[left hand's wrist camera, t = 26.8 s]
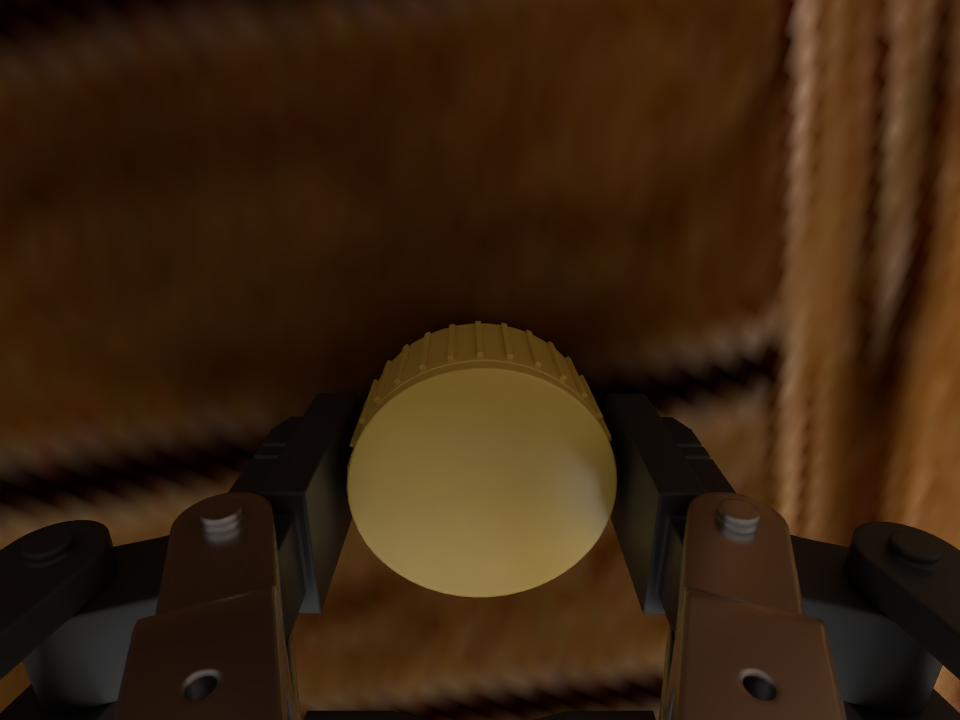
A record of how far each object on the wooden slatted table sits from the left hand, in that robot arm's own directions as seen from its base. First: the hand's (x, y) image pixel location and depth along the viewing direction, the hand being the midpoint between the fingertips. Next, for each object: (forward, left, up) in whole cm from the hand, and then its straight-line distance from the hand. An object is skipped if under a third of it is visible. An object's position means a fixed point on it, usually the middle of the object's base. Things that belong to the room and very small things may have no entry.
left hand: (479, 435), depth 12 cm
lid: (0, 0, +2) cm, 2 cm away
